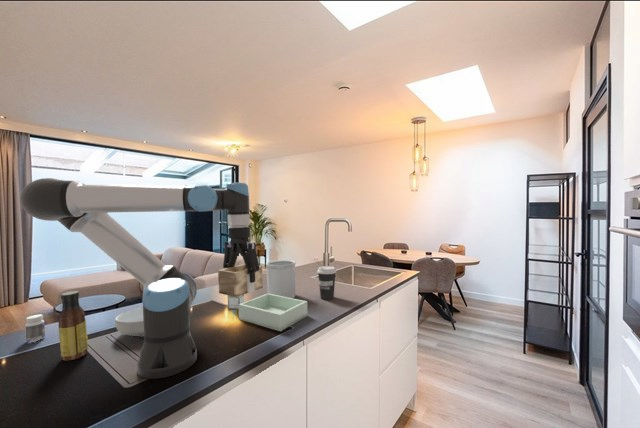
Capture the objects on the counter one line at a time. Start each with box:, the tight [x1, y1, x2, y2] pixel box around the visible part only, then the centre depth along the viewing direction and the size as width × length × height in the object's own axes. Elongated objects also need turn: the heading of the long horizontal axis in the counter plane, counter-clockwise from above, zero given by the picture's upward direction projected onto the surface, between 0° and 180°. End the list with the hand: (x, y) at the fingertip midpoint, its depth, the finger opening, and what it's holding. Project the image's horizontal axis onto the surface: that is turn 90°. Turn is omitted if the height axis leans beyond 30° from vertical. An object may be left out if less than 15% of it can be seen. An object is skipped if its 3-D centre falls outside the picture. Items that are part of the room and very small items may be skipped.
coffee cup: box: [316, 265, 337, 301], centre depth 138 cm, size 10×10×15 cm
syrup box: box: [227, 294, 245, 310], centre depth 127 cm, size 6×6×14 cm
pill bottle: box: [24, 313, 46, 343], centre depth 97 cm, size 5×5×8 cm
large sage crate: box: [238, 293, 309, 332], centre depth 114 cm, size 17×22×6 cm
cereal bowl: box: [114, 307, 144, 337], centre depth 102 cm, size 17×17×7 cm
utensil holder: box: [265, 259, 296, 299], centre depth 141 cm, size 15×15×18 cm
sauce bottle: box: [57, 290, 89, 362], centre depth 85 cm, size 6×6×20 cm
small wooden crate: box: [217, 263, 264, 297], centre depth 99 cm, size 12×9×8 cm
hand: (241, 289), depth 99 cm, fingers closed on small wooden crate, 9 cm apart
